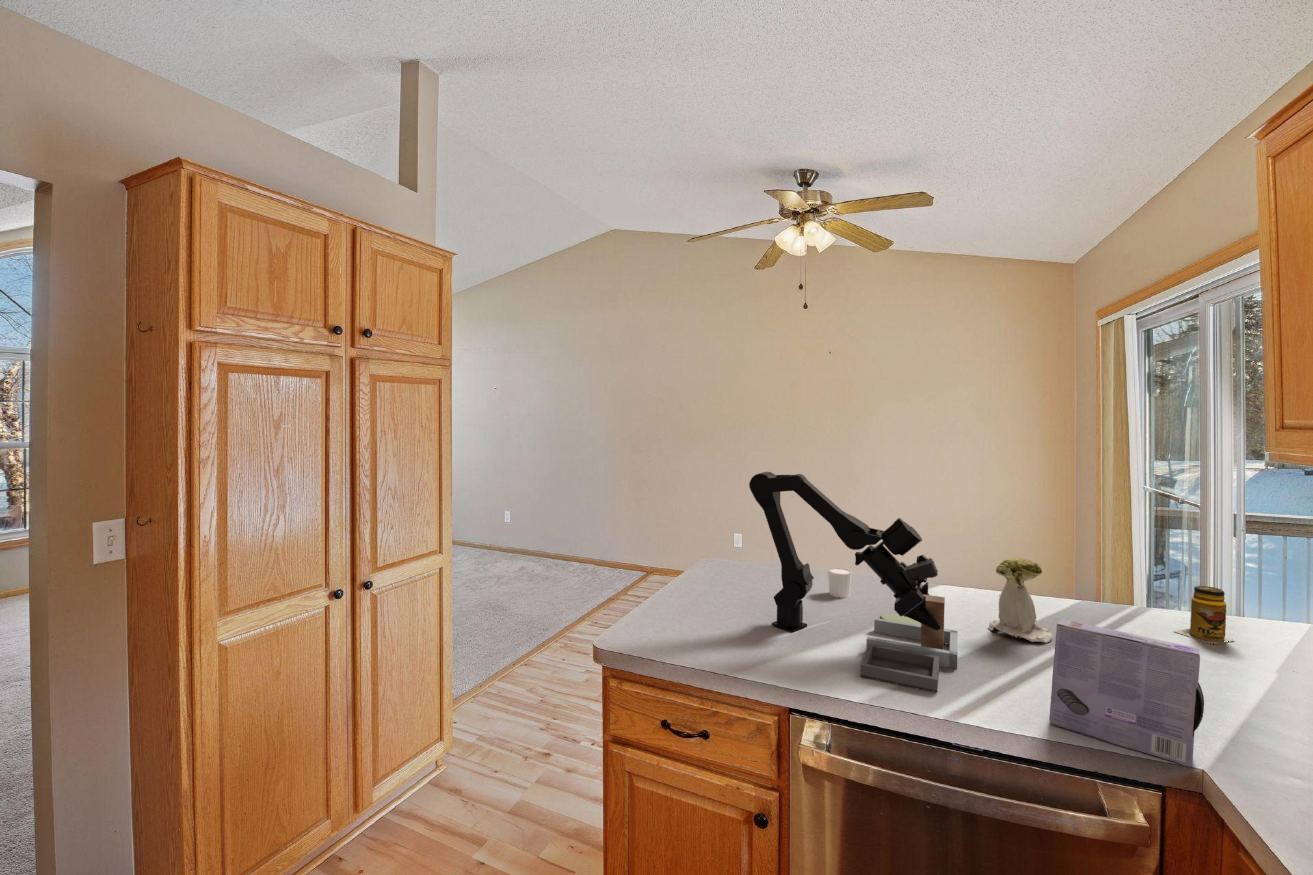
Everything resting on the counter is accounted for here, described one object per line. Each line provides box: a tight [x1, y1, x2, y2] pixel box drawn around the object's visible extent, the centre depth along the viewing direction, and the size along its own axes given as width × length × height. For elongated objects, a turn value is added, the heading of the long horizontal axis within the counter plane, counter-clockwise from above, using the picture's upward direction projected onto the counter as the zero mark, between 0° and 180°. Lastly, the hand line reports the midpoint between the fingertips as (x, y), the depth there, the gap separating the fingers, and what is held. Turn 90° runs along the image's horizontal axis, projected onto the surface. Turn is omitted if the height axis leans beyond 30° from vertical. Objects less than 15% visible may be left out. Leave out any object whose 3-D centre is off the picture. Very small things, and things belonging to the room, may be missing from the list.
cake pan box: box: [1048, 618, 1205, 768], centre depth 94 cm, size 19×5×18 cm, turn 48°
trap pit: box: [859, 644, 940, 693], centre depth 119 cm, size 14×12×2 cm
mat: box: [879, 614, 921, 625], centre depth 146 cm, size 11×11×1 cm
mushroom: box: [988, 557, 1053, 644], centre depth 139 cm, size 12×13×18 cm
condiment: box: [1172, 585, 1236, 645], centre depth 138 cm, size 7×8×12 cm
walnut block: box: [920, 594, 946, 650], centre depth 129 cm, size 4×4×12 cm
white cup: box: [827, 567, 853, 599], centre depth 170 cm, size 7×7×7 cm
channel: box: [865, 617, 959, 670], centre depth 131 cm, size 18×15×3 cm
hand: (939, 623), depth 129 cm, fingers open, 8 cm apart
